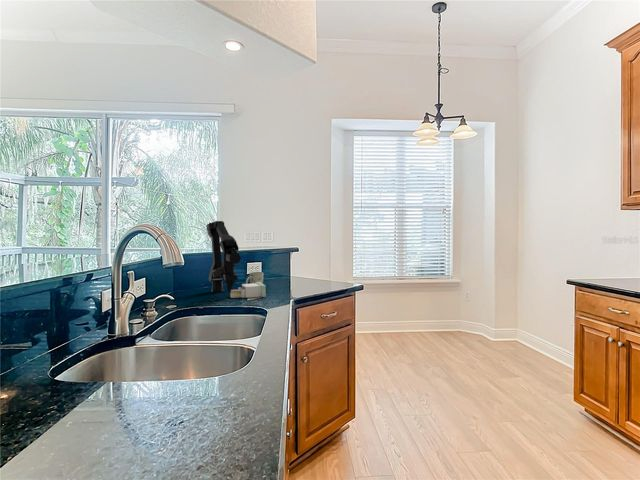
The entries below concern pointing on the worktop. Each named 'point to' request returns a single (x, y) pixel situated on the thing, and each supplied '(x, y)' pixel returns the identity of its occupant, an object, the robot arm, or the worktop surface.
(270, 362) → the worktop surface
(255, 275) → the mug
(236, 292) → the dowel
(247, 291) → the block
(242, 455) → the worktop surface
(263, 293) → the wall
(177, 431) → the worktop surface
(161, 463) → the worktop surface
